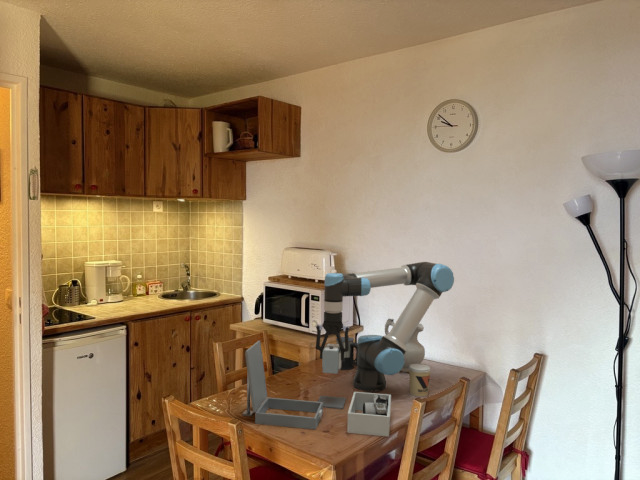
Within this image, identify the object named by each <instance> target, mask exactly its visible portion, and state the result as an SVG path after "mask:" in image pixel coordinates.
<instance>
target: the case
mask: <svg viewBox="0 0 640 480" xmlns="http://www.w3.org/2000/svg"><path fill="white" fill-rule="evenodd" d="M269 409H272V410H273V409H275V410H286V411H294V412H297V411H298V412H305V413H315V414H314V417H312V416H301V415H292V414H291V415H290V414H281V413H270V412H267V411H268V410H269ZM254 414H255V415H254V416H255V417H254V418H255V419H254V420H255V421H254V423H255V425H267V426H277V427H285V428H295V429H306V430H317V429H318V425H319V423H320V420H321V418H322V416H323V414H324V408H323V402H318V401H315V400H314V401H312V400H301V399H288V398H279V397H269V396H267V398H266V399H265V400H264V402H263V403H262V404H261V405H260V407H259V408H258V409H257V411H256V412H254Z"/></svg>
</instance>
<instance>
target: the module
mask: <svg viewBox="0 0 640 480" xmlns="http://www.w3.org/2000/svg"><path fill="white" fill-rule="evenodd" d="M339 352H340V347H339V344H336V343H326V344H325V347H324V350H323V368H322V373H323V374H334V375H335V374H336V375H337V374H338V373H339V371H340V369H339Z"/></svg>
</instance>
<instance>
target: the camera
mask: <svg viewBox="0 0 640 480" xmlns="http://www.w3.org/2000/svg"><path fill="white" fill-rule="evenodd" d="M385 397H386V396H381V395H374V398H373V403H370V402H369V403H364V404H363V411H362V414H372V415H383V416H387V413H386V409H387V408H388V399H387V398H385Z"/></svg>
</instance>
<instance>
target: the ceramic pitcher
mask: <svg viewBox="0 0 640 480" xmlns="http://www.w3.org/2000/svg"><path fill="white" fill-rule="evenodd" d="M394 321H395V319H394V318H387V320H386V322H385V324H384V335H388V334H389V332H390V331H389V329H390V327H389V326H391V327H393V326H394V325H395V323H396V322H394ZM424 330H425V329H424V325H423V323H419V324H418V326H417V328H416V329H415V331H414V332H413V334H412V336H411V337H410V339H409V341H408V342H407V344H406V345H405V348H406V352H405V354H404V361H405V362H404V365H403V367H402V369H401V370H400V371H399V372H405V373H408V372H409V367H410V365H411V364H422V362H423V361H424V360H425V359H424V358H425V357H426V356H425V355H426V354H425V353H426V350H425V347H424V345H423V344H422V343H420V342H419V340H418V336H419V333H421V332H423V331H424Z"/></svg>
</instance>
